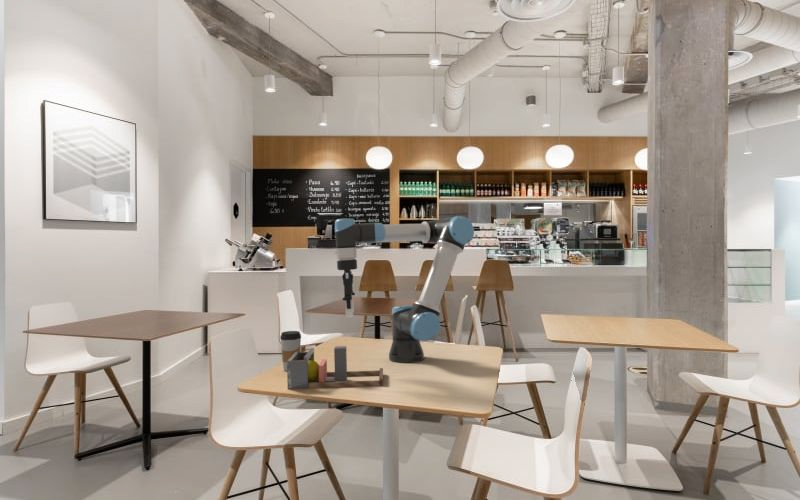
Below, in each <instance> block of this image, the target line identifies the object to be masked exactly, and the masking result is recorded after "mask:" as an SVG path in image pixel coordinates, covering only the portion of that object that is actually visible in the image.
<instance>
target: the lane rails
mask: <svg viewBox="0 0 800 500" xmlns="http://www.w3.org/2000/svg"><path fill="white" fill-rule="evenodd" d="M365 376H366V377H368V376H379V377H378V379H379V380H376V379H375V380H352V381H351V380H349V381H348V380H347V381H344V382H335V381H325V382H319V381H318V382H317V381H314V382H311V383H308V388H307V389H315V388H316V389H319V388H323V389H324V388H347V387H348V388H350V387H351V388H352V387H355V388H357V387H381V386H384V368H383V367H380V368H379V369H378V370H351V371H350V370H349V371H348V370H347V377H365ZM327 377H335V371H327Z"/></svg>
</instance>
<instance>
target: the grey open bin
mask: <svg viewBox="0 0 800 500" xmlns="http://www.w3.org/2000/svg"><path fill="white" fill-rule="evenodd" d="M308 360H311V361H315V348H313V347H311V348H310V349H309V350H308V351H300V352H295V353H294V354H293V355H292V357H291V358H290V359H289V360H288V361H287V371H286V373H287V376H286V377H287V380H286V381H287V389H288V388H301V389H309V388H308Z"/></svg>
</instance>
